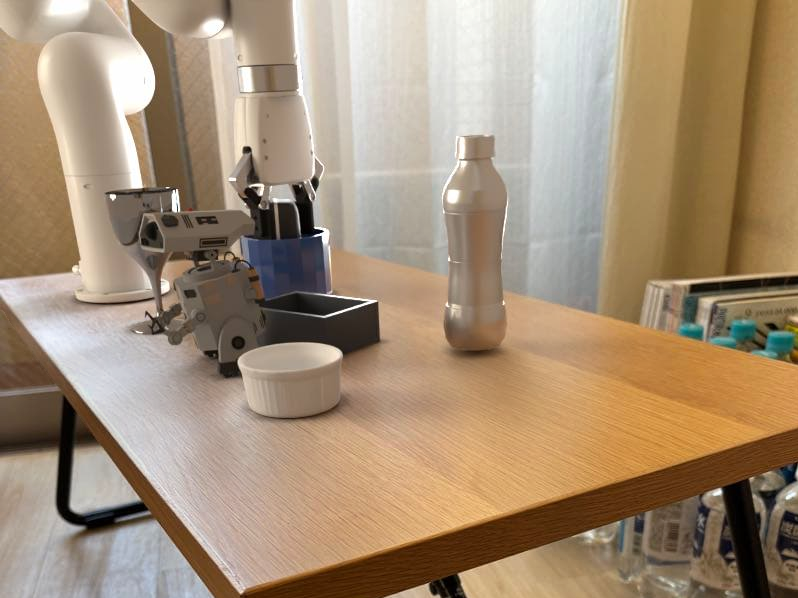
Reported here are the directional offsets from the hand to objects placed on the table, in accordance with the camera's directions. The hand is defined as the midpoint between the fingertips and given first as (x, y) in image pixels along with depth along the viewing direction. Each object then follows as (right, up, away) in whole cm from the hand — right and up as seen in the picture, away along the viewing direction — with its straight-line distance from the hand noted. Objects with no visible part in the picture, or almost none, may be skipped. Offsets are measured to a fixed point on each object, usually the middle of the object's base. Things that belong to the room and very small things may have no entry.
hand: (284, 236), depth 116 cm
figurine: (-4, -22, -26) cm, 35 cm away
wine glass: (-13, -14, -10) cm, 22 cm away
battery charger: (0, -6, +3) cm, 7 cm away
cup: (0, -7, +3) cm, 8 cm away
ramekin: (+6, -28, -38) cm, 47 cm away
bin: (+6, -18, -20) cm, 27 cm away
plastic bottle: (+23, -20, -24) cm, 38 cm away
